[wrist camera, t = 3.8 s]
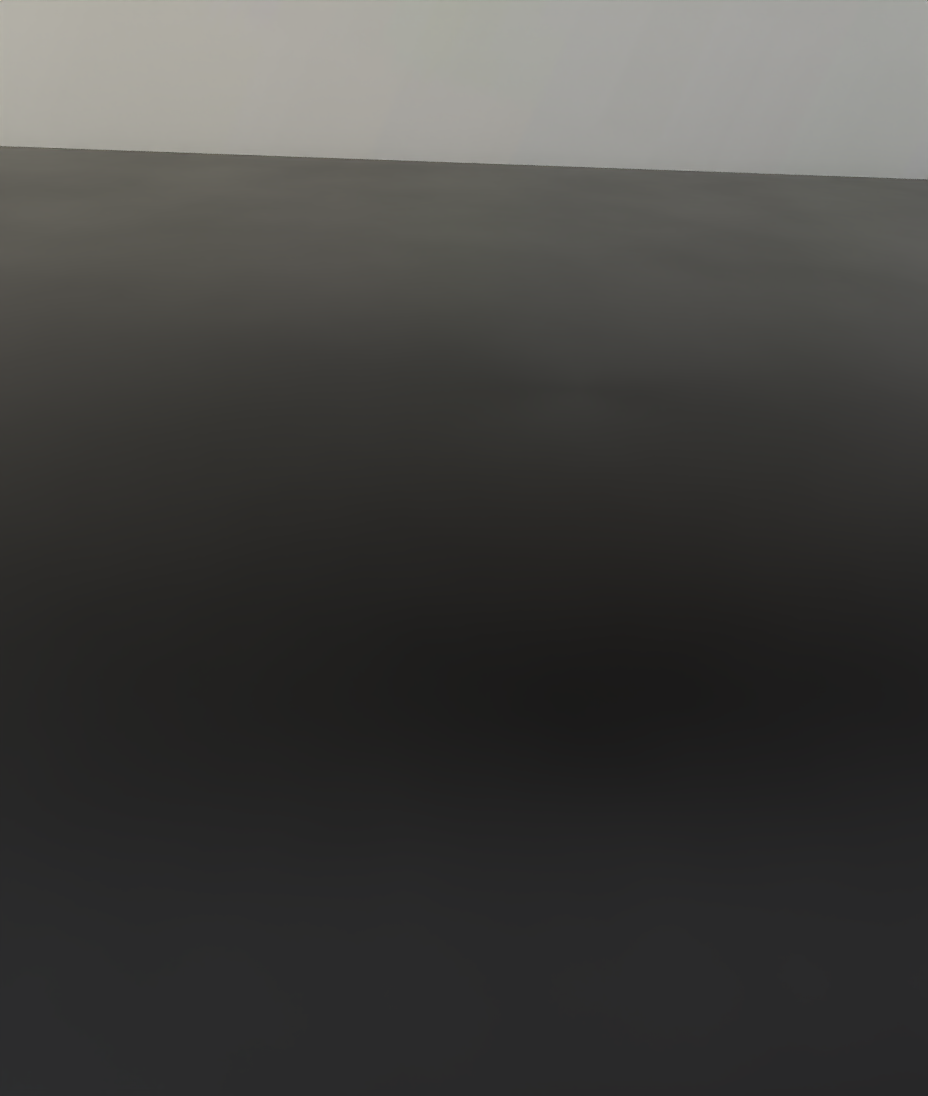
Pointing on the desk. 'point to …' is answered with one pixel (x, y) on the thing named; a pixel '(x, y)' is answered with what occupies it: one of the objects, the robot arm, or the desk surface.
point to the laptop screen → (461, 629)
